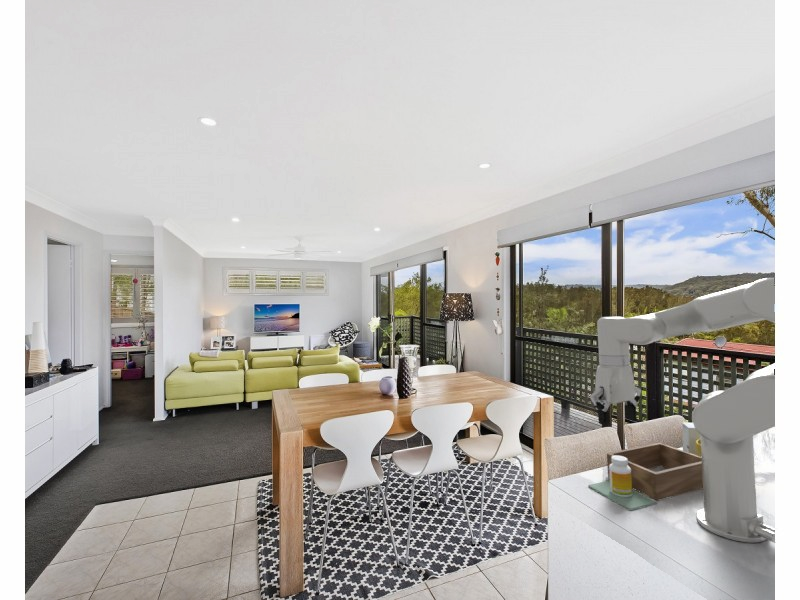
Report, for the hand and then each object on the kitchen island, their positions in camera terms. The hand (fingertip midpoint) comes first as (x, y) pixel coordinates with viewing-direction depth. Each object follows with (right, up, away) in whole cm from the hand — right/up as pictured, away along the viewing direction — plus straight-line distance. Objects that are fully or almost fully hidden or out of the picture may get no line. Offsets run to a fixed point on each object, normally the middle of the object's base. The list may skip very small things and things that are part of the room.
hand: (617, 422), depth 107 cm
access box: (+16, -20, +7) cm, 26 cm away
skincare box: (+36, -19, +19) cm, 45 cm away
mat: (+1, -20, 0) cm, 20 cm away
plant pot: (+35, -19, +8) cm, 41 cm away
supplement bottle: (+1, -20, 0) cm, 20 cm away
